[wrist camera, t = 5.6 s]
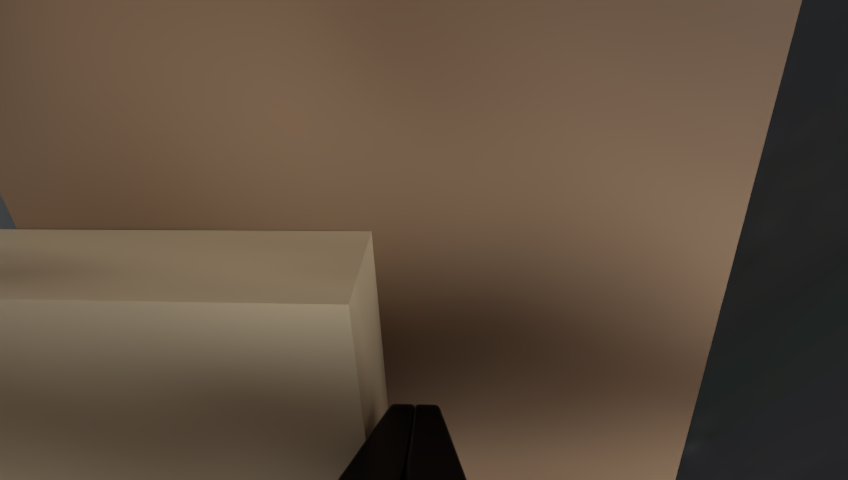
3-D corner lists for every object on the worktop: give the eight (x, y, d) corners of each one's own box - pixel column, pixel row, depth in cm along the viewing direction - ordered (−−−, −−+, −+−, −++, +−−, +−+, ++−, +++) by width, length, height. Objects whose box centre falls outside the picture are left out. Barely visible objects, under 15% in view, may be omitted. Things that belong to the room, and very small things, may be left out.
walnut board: (618, 553, 16) (635, 628, 15) (225, 537, 17) (198, 606, 16) (782, -240, 7) (878, -288, 6) (-51, -169, 8) (-186, -192, 7)
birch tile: (393, 471, 12) (381, 563, 10) (47, 458, 13) (-19, 542, 11) (372, 230, 9) (348, 304, 7) (-80, 228, 10) (-199, 296, 8)
